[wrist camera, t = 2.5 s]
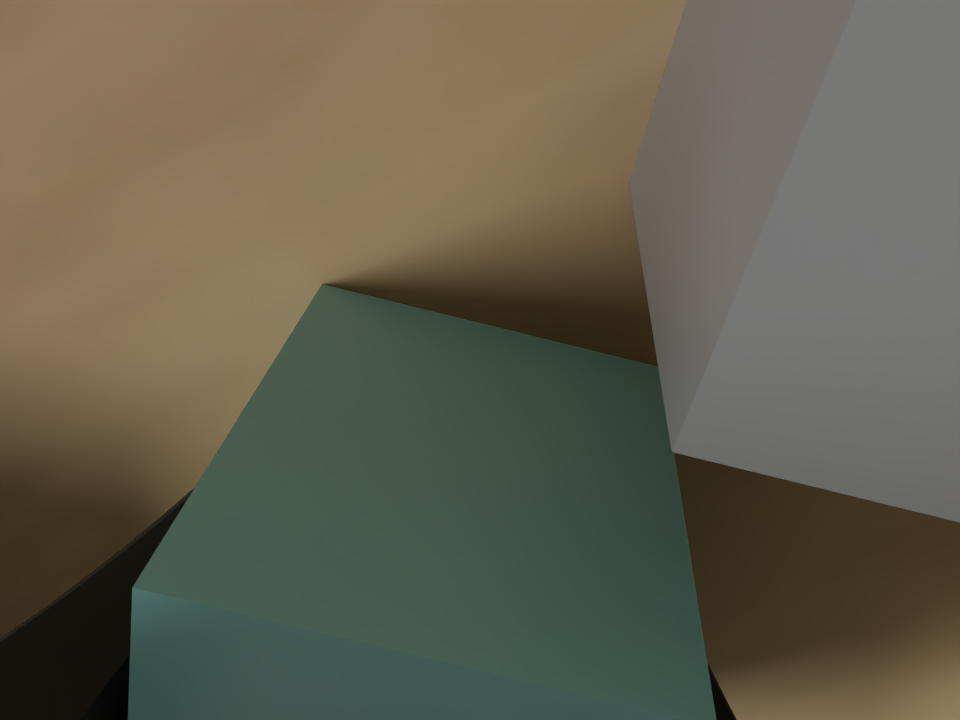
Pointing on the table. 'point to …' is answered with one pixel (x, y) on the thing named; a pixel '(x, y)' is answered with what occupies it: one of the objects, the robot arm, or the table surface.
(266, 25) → the table surface
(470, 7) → the table surface
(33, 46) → the table surface
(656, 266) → the gray brick
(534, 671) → the teal brick
